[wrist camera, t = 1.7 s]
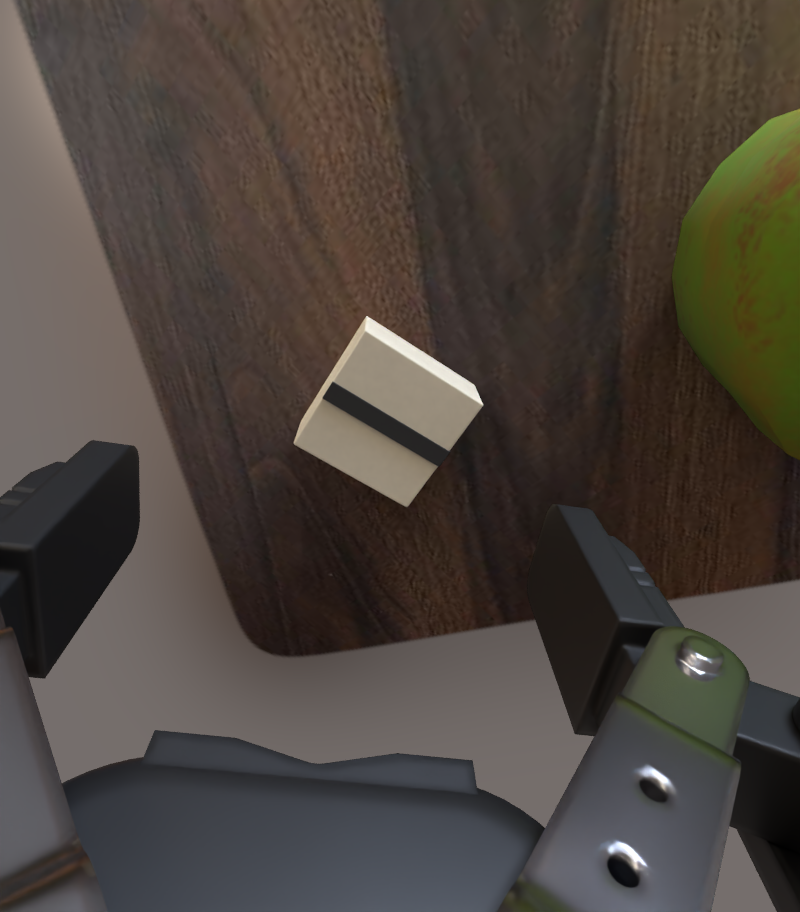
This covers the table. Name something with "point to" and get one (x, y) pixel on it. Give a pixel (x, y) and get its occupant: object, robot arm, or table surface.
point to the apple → (748, 278)
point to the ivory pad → (388, 413)
